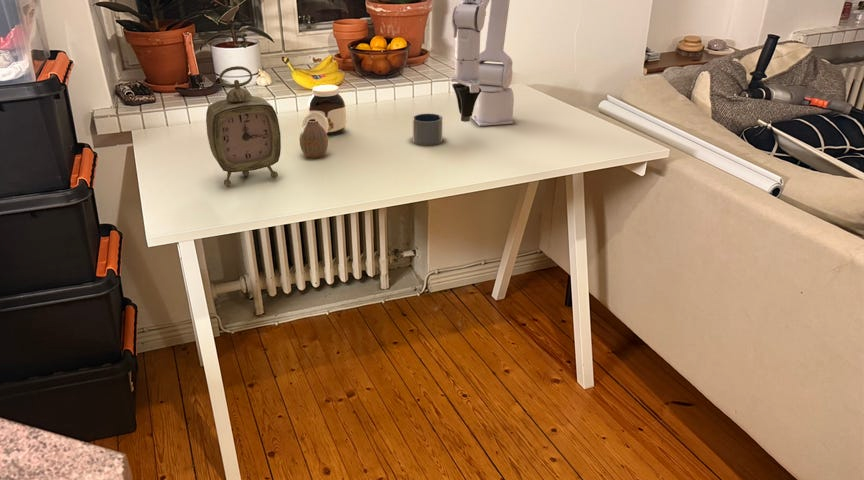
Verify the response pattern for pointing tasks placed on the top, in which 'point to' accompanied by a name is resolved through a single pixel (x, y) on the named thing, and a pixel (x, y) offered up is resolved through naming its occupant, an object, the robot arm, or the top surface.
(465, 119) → the grey upright block
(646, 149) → the top surface
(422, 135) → the grey plastic cup
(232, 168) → the tabletop clock
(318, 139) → the vase
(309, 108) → the spread jar
